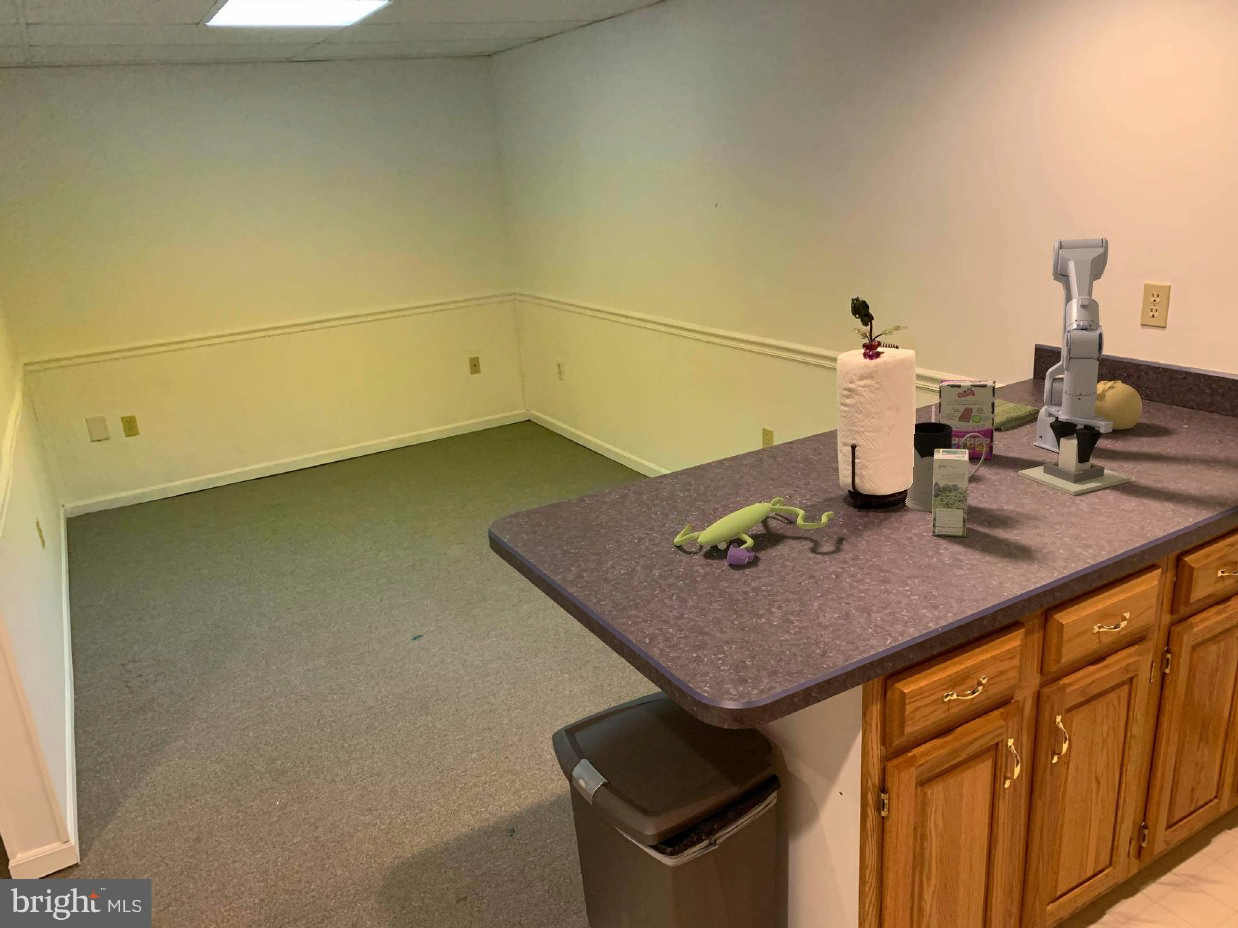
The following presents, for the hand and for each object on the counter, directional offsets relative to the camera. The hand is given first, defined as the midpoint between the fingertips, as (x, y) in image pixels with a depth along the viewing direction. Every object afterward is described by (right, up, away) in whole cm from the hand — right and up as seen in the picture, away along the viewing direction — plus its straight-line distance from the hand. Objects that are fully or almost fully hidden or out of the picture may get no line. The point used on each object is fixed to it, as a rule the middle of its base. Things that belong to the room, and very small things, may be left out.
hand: (1074, 459), depth 183 cm
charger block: (0, -2, +1) cm, 2 cm away
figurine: (-65, -15, -14) cm, 68 cm away
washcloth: (+2, +9, +42) cm, 43 cm away
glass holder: (-28, -9, -6) cm, 29 cm away
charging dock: (0, -4, +1) cm, 4 cm away
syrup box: (-31, -13, -18) cm, 38 cm away
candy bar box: (-14, +1, +19) cm, 24 cm away
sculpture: (+23, +7, +30) cm, 38 cm away
